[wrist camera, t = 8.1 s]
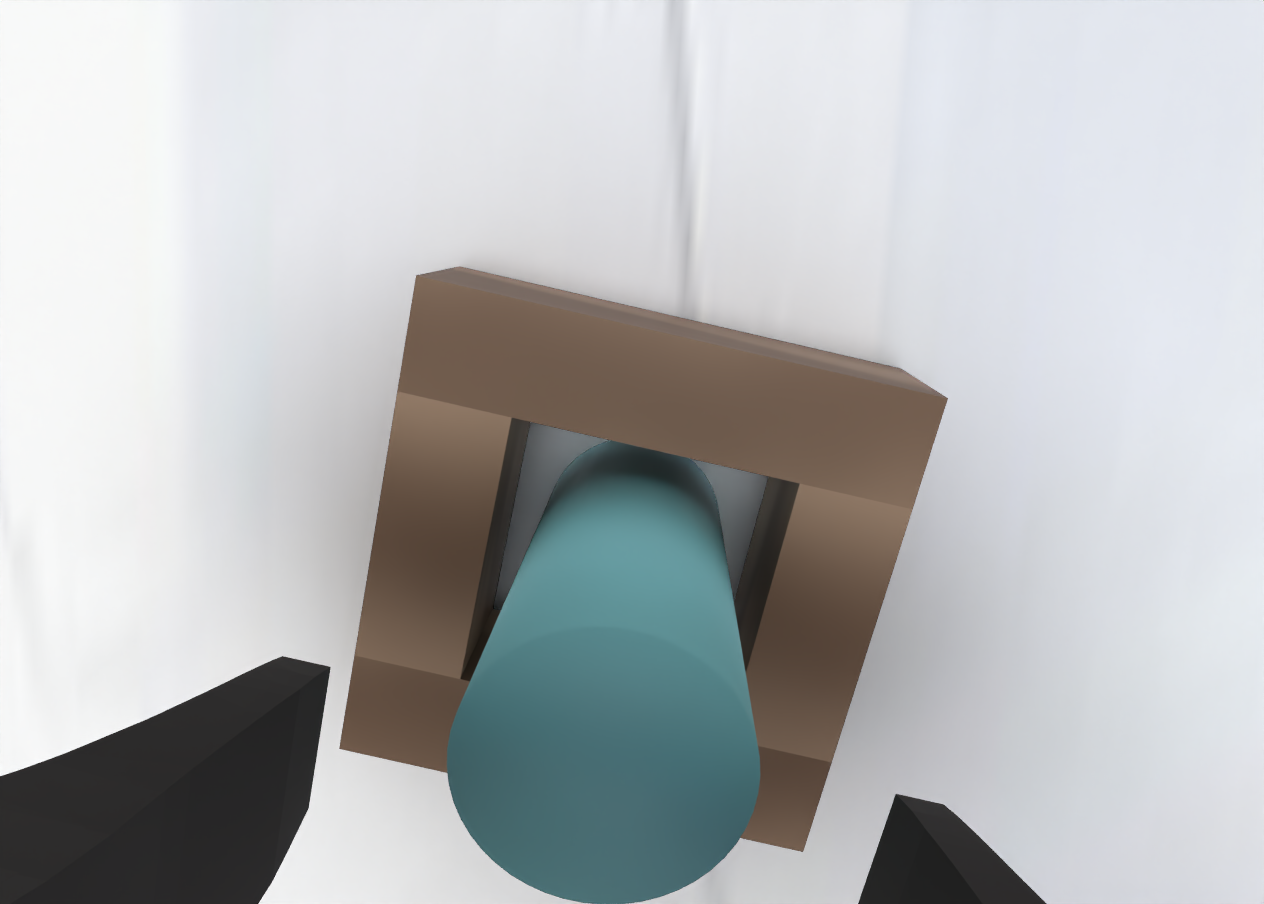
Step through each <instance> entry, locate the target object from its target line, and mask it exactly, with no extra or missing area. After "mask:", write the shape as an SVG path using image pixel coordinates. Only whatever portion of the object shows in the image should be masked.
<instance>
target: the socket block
mask: <svg viewBox="0 0 1264 904" xmlns="http://www.w3.org/2000/svg"><path fill="white" fill-rule="evenodd" d="M947 399H948V398H946V397H945V396H943V395H942V394H940V393H938V392H937V391H935V390H934V389H932V388H931V387H929V386H927V385H926V384H924V383H923V382H921V381H919V380H918V379H916V378H915V377H913V376H912V375H910V374H908V373H907V372H905V371H904V370H902V369H900V368H895V367H891V366H887V365H882V364H878V363H874V362H870V361H865V360H861V359H857V358H852V357H848V356H844V355H839V354H835V353H831V352H826V351H822V350H818V349H813V348H809V347H805V346H800V345H796V344H792V343H787V342H783V341H779V340H774V339H770V338H766V337H762V336H757V335H753V334H749V333H744V332H740V331H736V330H731V329H727V328H723V327H718V326H714V325H710V324H705V323H701V322H697V321H692V320H688V319H684V318H679V317H675V316H671V315H666V314H662V313H658V312H653V311H649V310H645V309H641V308H636V307H632V306H628V305H623V304H619V303H615V302H610V301H606V300H602V299H597V298H593V297H589V296H584V295H580V294H576V293H571V292H567V291H563V290H558V289H554V288H550V287H545V286H541V285H537V284H533V283H528V282H524V281H520V280H515V279H511V278H507V277H502V276H498V275H494V274H489V273H485V272H481V271H476V270H472V269H468V268H463V267H455V268H450V269H445V270H441V271H436V272H431V273H426V274H421V275H417V276H416V280H415V286H414V293H413V299H412V305H411V311H410V317H409V323H408V329H407V336H406V342H405V348H404V354H403V360H402V366H401V373H400V379H399V385H398V391H397V397H396V403H395V410H394V416H393V422H392V428H391V434H390V440H389V446H388V453H387V459H386V465H385V471H384V477H383V483H382V490H381V496H380V502H379V508H378V514H377V520H376V526H375V533H374V539H373V545H372V551H371V557H370V563H369V570H368V576H367V582H366V588H365V594H364V600H363V606H362V613H361V619H360V625H359V631H358V637H357V643H356V650H355V656H354V662H353V668H352V674H351V680H350V686H349V693H348V699H347V705H346V711H345V717H344V723H343V730H342V736H341V742H340V748H339V749H343V750H347V751H352V752H356V753H361V754H365V755H370V756H374V757H379V758H383V759H388V760H392V761H397V762H401V763H406V764H410V765H415V766H419V767H424V768H428V769H433V770H437V771H442V772H446V773H448V772H447V747H448V741H449V736H450V730H451V727H452V724H453V721H454V718H455V715H456V713H457V710H458V708H459V706H460V703H461V701H462V699H463V697H464V694H465V692H466V690H467V687H468V685H469V683H470V680H471V678H472V676H473V674H474V671H475V669H476V667H477V664H478V662H479V660H480V658H481V655H482V653H483V651H484V648H485V646H486V644H487V641H488V639H489V637H490V635H491V632H492V630H493V628H494V625H495V623H496V621H497V618H498V616H499V614H500V612H501V610H497V609H493V604H494V599H495V594H496V589H497V584H498V579H499V574H500V570H501V565H502V560H503V555H504V550H505V545H506V540H507V535H508V530H509V525H510V520H511V515H512V510H513V505H514V500H515V495H516V490H517V485H518V480H519V475H520V470H521V466H522V461H523V456H524V451H525V446H526V441H527V436H528V431H529V426H530V422H533V423H538V424H542V425H546V426H551V427H555V428H559V429H564V430H568V431H572V432H577V433H581V434H586V435H590V436H594V437H599V438H603V439H607V440H612V441H616V442H621V443H625V444H629V445H634V446H638V447H642V448H647V449H651V450H655V451H660V452H664V453H669V454H673V455H677V456H682V457H686V458H690V459H695V460H699V461H703V462H708V463H712V464H717V465H721V466H725V467H730V468H734V469H738V470H743V471H747V472H752V473H756V474H760V475H765V476H769V477H768V481H767V484H766V488H765V492H764V495H763V499H762V503H761V506H760V510H759V514H758V517H757V521H756V525H755V528H754V532H753V535H752V539H751V543H750V546H749V550H748V554H747V557H746V561H745V565H744V568H743V572H742V576H741V579H740V583H739V586H738V590H737V594H736V597H735V601H734V606H735V612H736V618H737V624H738V630H739V636H740V642H741V648H742V654H743V660H744V666H745V672H746V678H747V684H748V690H749V696H750V702H751V708H752V714H753V720H754V726H755V732H756V738H757V744H758V750H759V756H760V783H759V791H758V796H757V800H756V804H755V807H754V811H753V813H752V816H751V818H750V820H749V822H748V825H747V827H746V829H745V831H744V832H743V834H742V835H741V837H740V838H743V839H747V840H752V841H756V842H761V843H765V844H770V845H774V846H779V847H783V848H788V849H792V850H797V851H801V852H803V850H804V847H805V844H806V841H807V838H808V835H809V832H810V828H811V825H812V822H813V819H814V816H815V813H816V810H817V806H818V803H819V800H820V797H821V794H822V791H823V788H824V785H825V781H826V778H827V775H828V772H829V769H830V766H831V763H832V760H833V756H834V753H835V750H836V747H837V744H838V741H839V738H840V734H841V731H842V728H843V725H844V722H845V719H846V716H847V713H848V709H849V706H850V703H851V700H852V697H853V694H854V691H855V688H856V684H857V681H858V678H859V675H860V672H861V669H862V666H863V662H864V659H865V656H866V653H867V650H868V647H869V644H870V641H871V637H872V634H873V631H874V628H875V625H876V622H877V619H878V615H879V612H880V609H881V606H882V603H883V600H884V597H885V594H886V590H887V587H888V584H889V581H890V578H891V575H892V572H893V569H894V565H895V562H896V559H897V556H898V553H899V550H900V547H901V543H902V540H903V537H904V534H905V531H906V528H907V525H908V522H909V518H910V515H911V512H912V509H913V506H914V503H915V500H916V497H917V493H918V490H919V487H920V484H921V481H922V478H923V475H924V471H925V468H926V465H927V462H928V459H929V456H930V453H931V450H932V446H933V443H934V440H935V437H936V434H937V431H938V428H939V424H940V421H941V418H942V415H943V412H944V409H945V406H946V403H947Z"/></svg>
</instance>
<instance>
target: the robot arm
mask: <svg viewBox="0 0 1264 904" xmlns="http://www.w3.org/2000/svg"><path fill="white" fill-rule="evenodd" d="M329 673H330V667H328V666H323V665H319V664H314V663H310V662H305V661H301V660H296V659H292V658H288V657H283V656H282V657H280V658H277V659H275V660H272V661H270V662H268V663H265V664H263V665H261V666H259V667H257V668H255V669H253V670H250V671H248V672H246V673H244V674H242V675H240V676H238V677H236V678H234V679H232V680H230V681H228V682H226V683H224V684H221V685H219V686H217V687H215V688H213V689H211V690H209V691H207V692H205V693H203V694H201V695H198V696H196V697H194V698H192V699H190V700H188V701H186V702H184V703H181V704H179V705H177V706H175V707H173V708H171V709H169V710H166V711H164V712H162V713H160V714H158V715H156V716H154V717H151V718H149V719H147V720H145V721H142V722H140V723H137V724H135V725H133V726H130V727H128V728H125V729H123V730H121V731H118V732H116V733H113V734H111V735H108V736H106V737H104V738H101V739H99V740H96V741H94V742H92V743H89V744H87V745H84V746H82V747H80V748H77V749H75V750H72V751H70V752H68V753H65V754H62V755H60V756H57V757H54V758H52V759H49V760H46V761H44V762H41V763H38V764H35V765H32V766H30V767H27V768H24V769H21V770H18V771H15V772H12V773H9V774H6V775H3V776H0V904H258V903H259V902H260V900H261V898H262V897H263V895H264V894H265V892H266V891H267V889H268V887H269V886H270V884H271V883H272V881H273V879H274V877H275V875H276V873H277V871H278V869H279V867H280V865H281V863H282V861H283V859H284V857H285V855H286V853H287V851H288V849H289V847H290V845H291V843H292V841H293V839H294V837H295V835H296V833H297V831H298V829H299V827H300V825H301V823H302V821H303V818H304V816H305V814H306V812H307V810H308V808H309V802H310V795H311V789H312V782H313V776H314V770H315V763H316V757H317V750H318V744H319V737H320V731H321V725H322V718H323V712H324V705H325V699H326V693H327V686H328V680H329ZM858 904H1046V903H1045V902H1044V901H1043V900H1042V899H1041V898H1040V897H1039V896H1038V895H1037V894H1036V893H1035V892H1034V891H1033V890H1032V889H1031V888H1030V887H1029V886H1028V885H1027V884H1026V883H1025V882H1024V881H1023V880H1022V879H1021V878H1020V877H1019V876H1018V875H1017V874H1016V873H1015V872H1014V871H1013V870H1012V869H1011V868H1010V867H1009V866H1008V865H1007V864H1006V863H1005V862H1004V861H1003V860H1002V859H1001V858H1000V857H999V856H998V855H997V854H996V853H995V852H994V851H993V850H992V849H991V848H990V847H989V846H988V845H987V844H986V843H985V842H984V841H983V840H982V839H981V838H980V837H979V836H978V835H977V834H976V833H975V832H974V831H973V830H972V829H971V828H969V827H968V826H967V825H966V824H965V823H964V822H963V821H962V820H961V819H960V818H959V817H958V816H956V815H955V814H954V813H953V812H952V811H951V810H949V809H948V808H947V807H946V806H945V805H943V804H939V803H934V802H930V801H925V800H921V799H916V798H912V797H907V796H903V795H898V794H896V795H895V798H894V801H893V804H892V807H891V810H890V813H889V816H888V818H887V821H886V824H885V827H884V830H883V833H882V836H881V839H880V842H879V845H878V848H877V851H876V853H875V856H874V859H873V862H872V865H871V868H870V871H869V874H868V877H867V880H866V883H865V886H864V888H863V891H862V894H861V897H860V900H859V903H858Z"/></svg>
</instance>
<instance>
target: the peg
mask: <svg viewBox="0 0 1264 904" xmlns="http://www.w3.org/2000/svg"><path fill="white" fill-rule="evenodd" d="M447 772H448V781H449V786H450V790H451V794H452V798H453V801H454V804H455V806H456V809H457V811H458V813H459V816H460V818H461V820H462V822H463V823H464V825H465V827H466V828H467V830H468V832H469V833H470V835H471V836H472V838H473V839H474V840H475V841H476V843H477V844H478V845H479V846H480V848H481V849H482V850H483V851H484V852H485V853H486V854H487V855H488V856H489V857H490V858H491V859H492V860H493V861H494V862H495V863H496V864H498V865H499V866H500V867H501V868H503V869H504V870H505V871H507V872H508V873H509V874H511V875H512V876H514V877H515V878H517V879H519V880H520V881H522V882H524V883H525V884H527V885H529V886H532V887H534V888H536V889H538V890H540V891H543V892H545V893H548V894H551V895H554V896H557V897H560V898H563V899H568V900H573V901H578V902H582V903H593V904H626V903H634V902H641V901H646V900H649V899H653V898H657V897H661V896H664V895H666V894H669V893H672V892H674V891H677V890H679V889H681V888H683V887H685V886H687V885H689V884H691V883H693V882H694V881H696V880H698V879H699V878H700V877H702V876H703V875H705V874H706V873H708V872H709V871H710V870H712V869H713V868H714V867H715V866H716V865H717V864H718V863H719V862H720V861H721V860H723V859H724V858H725V857H726V855H727V854H728V853H729V852H730V851H731V849H732V848H733V847H734V846H735V845H736V843H737V842H738V840H739V839H740V837H741V835H742V834H743V832H744V831H745V829H746V827H747V825H748V822H749V820H750V818H751V816H752V813H753V811H754V807H755V804H756V800H757V796H758V791H759V783H760V756H759V750H758V744H757V738H756V732H755V726H754V720H753V714H752V708H751V702H750V696H749V690H748V684H747V678H746V672H745V666H744V660H743V654H742V648H741V642H740V636H739V630H738V624H737V618H736V612H735V606H734V600H733V595H732V589H731V583H730V577H729V571H728V565H727V559H726V553H725V547H724V541H723V535H722V529H721V523H720V517H719V511H718V505H717V500H716V497H715V494H714V491H713V489H712V487H711V485H710V483H709V481H708V479H707V478H706V476H705V475H704V473H703V472H702V471H701V470H700V468H699V467H698V466H697V465H696V464H695V463H694V462H693V461H692V460H691V459H690V458H686V457H682V456H677V455H673V454H669V453H664V452H660V451H655V450H651V449H647V448H642V447H638V446H634V445H629V444H625V443H621V442H616V441H612V440H611V441H608V442H605V443H601V444H599V445H597V446H595V447H593V448H590V449H589V450H587V451H586V452H584V453H583V454H581V455H580V456H579V457H577V458H576V459H575V460H574V461H573V462H572V463H571V464H570V465H569V466H568V467H567V468H566V469H565V471H564V472H563V474H562V475H561V477H560V478H559V480H558V482H557V484H556V486H555V488H554V490H553V492H552V495H551V497H550V499H549V501H548V504H547V506H546V508H545V511H544V513H543V515H542V518H541V520H540V522H539V524H538V527H537V529H536V531H535V534H534V536H533V538H532V540H531V543H530V545H529V547H528V550H527V552H526V554H525V557H524V559H523V561H522V563H521V566H520V568H519V570H518V573H517V575H516V577H515V579H514V582H513V584H512V586H511V589H510V591H509V593H508V596H507V598H506V600H505V602H504V605H503V607H502V609H501V612H500V614H499V616H498V618H497V621H496V623H495V625H494V628H493V630H492V632H491V635H490V637H489V639H488V641H487V644H486V646H485V648H484V651H483V653H482V655H481V658H480V660H479V662H478V664H477V667H476V669H475V671H474V674H473V676H472V678H471V680H470V683H469V685H468V687H467V690H466V692H465V694H464V697H463V699H462V701H461V703H460V706H459V708H458V710H457V713H456V715H455V718H454V721H453V724H452V727H451V730H450V736H449V741H448V747H447Z"/></svg>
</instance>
